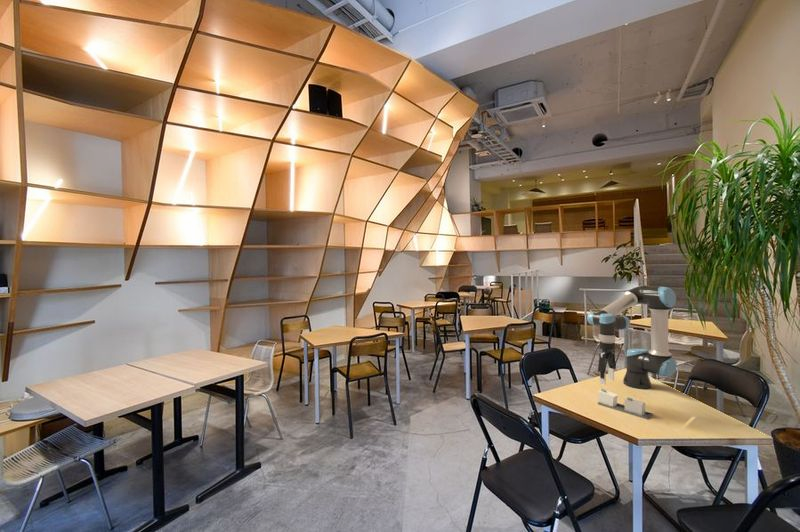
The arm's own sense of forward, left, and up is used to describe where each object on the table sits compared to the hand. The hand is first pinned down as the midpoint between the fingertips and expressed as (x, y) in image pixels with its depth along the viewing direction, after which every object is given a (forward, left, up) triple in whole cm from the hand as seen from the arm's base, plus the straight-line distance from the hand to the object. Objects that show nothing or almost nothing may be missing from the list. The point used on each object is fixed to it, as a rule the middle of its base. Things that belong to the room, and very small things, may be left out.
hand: (607, 381), depth 205 cm
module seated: (0, +14, -13) cm, 19 cm away
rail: (0, +9, -14) cm, 16 cm away
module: (0, 0, -12) cm, 12 cm away
